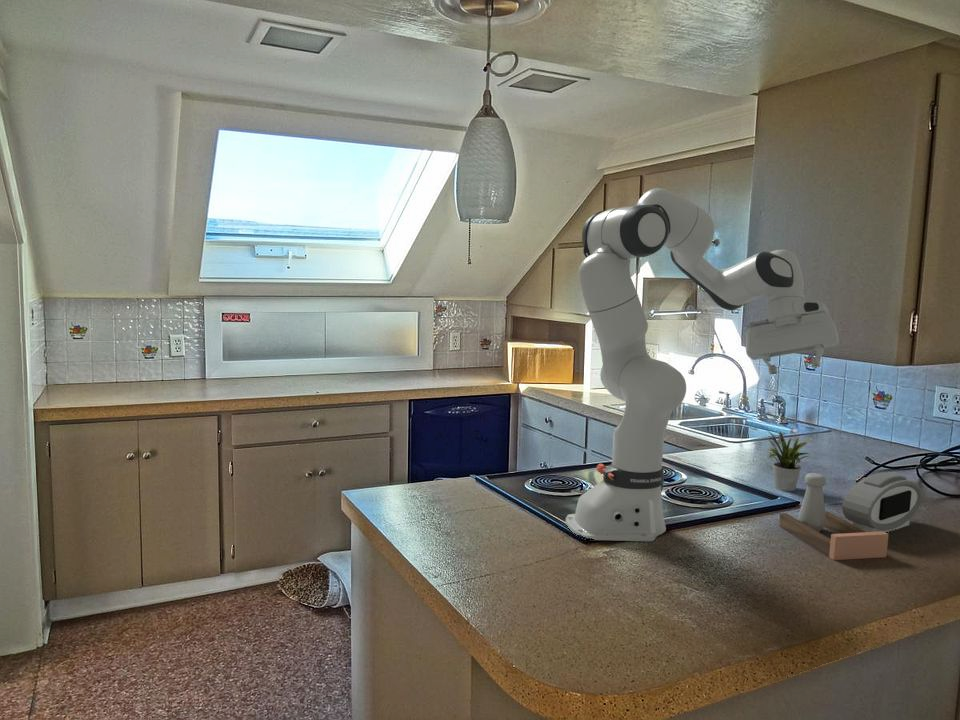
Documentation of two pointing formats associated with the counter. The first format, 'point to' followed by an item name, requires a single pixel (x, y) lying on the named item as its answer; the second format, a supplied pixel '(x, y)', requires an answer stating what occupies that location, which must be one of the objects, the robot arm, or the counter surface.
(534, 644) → the counter surface
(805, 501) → the salt shaker
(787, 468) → the house plant
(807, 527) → the walnut channel
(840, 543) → the block
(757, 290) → the robot arm
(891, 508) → the alarm clock
